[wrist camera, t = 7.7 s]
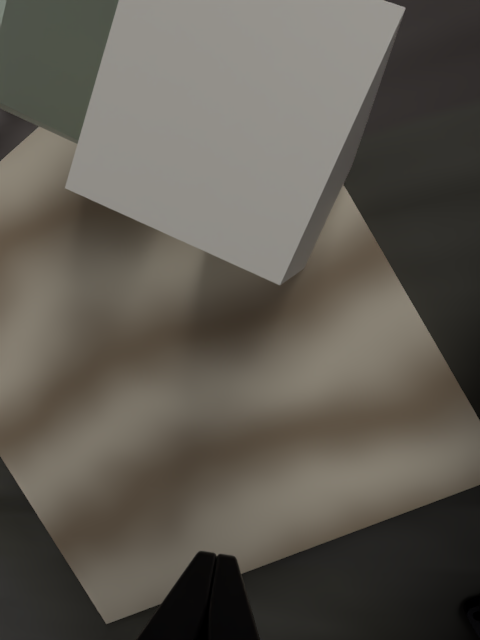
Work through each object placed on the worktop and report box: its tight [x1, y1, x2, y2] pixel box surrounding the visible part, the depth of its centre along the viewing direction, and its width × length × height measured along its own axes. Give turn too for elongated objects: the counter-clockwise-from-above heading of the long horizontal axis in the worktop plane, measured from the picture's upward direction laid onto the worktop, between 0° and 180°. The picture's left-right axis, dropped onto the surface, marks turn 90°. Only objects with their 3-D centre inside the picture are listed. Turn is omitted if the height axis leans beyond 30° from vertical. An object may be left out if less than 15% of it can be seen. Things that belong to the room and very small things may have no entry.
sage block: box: [0, 0, 119, 144], centre depth 12 cm, size 4×4×10 cm
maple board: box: [0, 127, 480, 624], centre depth 19 cm, size 24×23×1 cm
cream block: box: [65, 0, 405, 285], centre depth 11 cm, size 4×4×10 cm
